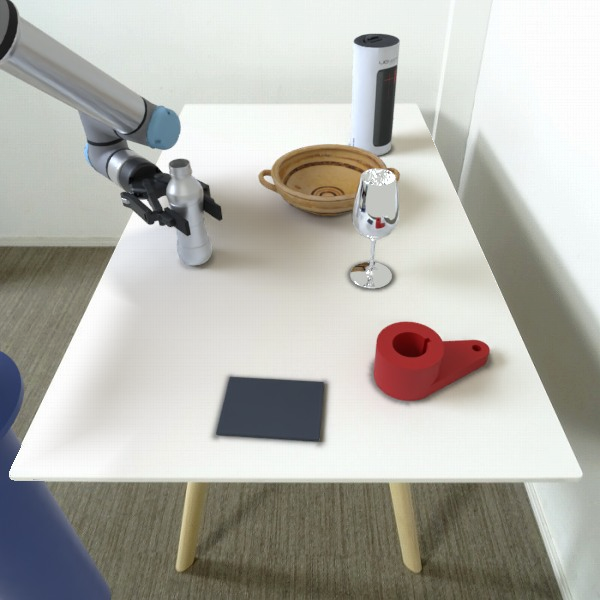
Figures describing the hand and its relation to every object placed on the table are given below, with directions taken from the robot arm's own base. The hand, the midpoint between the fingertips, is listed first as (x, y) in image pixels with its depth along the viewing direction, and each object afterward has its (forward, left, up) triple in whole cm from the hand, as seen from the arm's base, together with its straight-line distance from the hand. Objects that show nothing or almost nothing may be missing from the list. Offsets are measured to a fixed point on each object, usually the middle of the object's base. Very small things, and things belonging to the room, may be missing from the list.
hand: (204, 221), depth 95 cm
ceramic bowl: (+20, +25, -11) cm, 34 cm away
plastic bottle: (-4, +3, -11) cm, 12 cm away
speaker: (+29, +52, -11) cm, 61 cm away
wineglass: (+29, 0, -11) cm, 31 cm away
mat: (+15, -31, -11) cm, 36 cm away
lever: (+38, -22, -11) cm, 45 cm away
